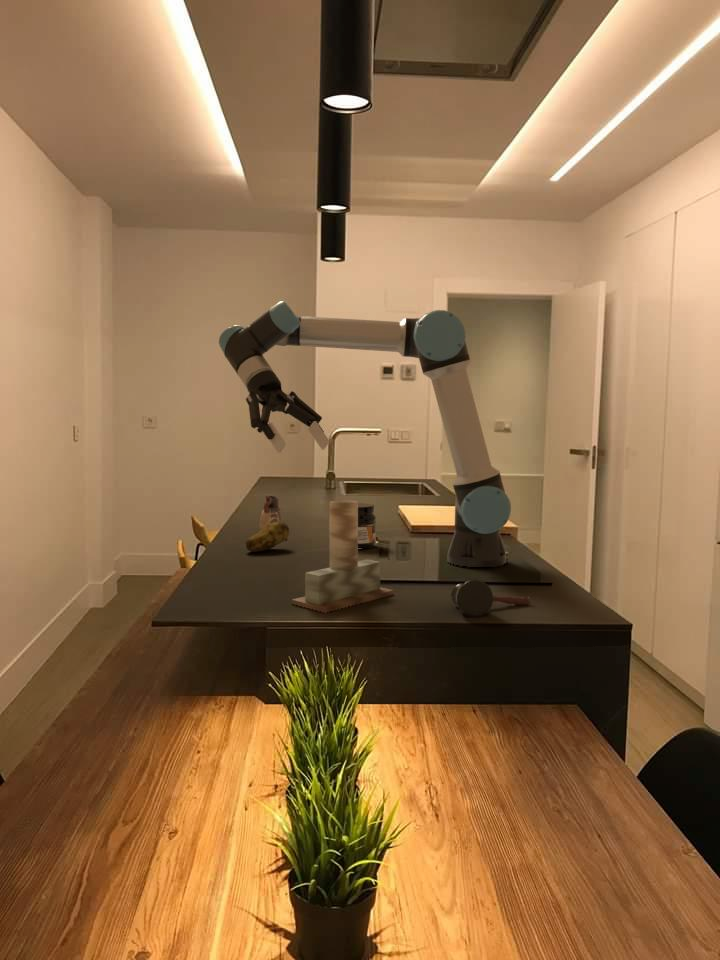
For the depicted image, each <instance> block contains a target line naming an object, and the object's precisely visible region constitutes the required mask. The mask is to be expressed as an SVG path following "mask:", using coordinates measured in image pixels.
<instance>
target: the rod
mask: <svg viewBox="0 0 720 960" xmlns="http://www.w3.org/2000/svg"><path fill="white" fill-rule="evenodd" d="M358 503H359V501H357V500H350V499H349V500H348V499H347V500H346V499H337V500H331V501H329V567H330V568H331V569H335V570H352V569H356V568H358V561H359V560H358V559H359V557H358V556H359V549H358Z"/></svg>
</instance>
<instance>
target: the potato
mask: <svg viewBox="0 0 720 960" xmlns="http://www.w3.org/2000/svg"><path fill="white" fill-rule="evenodd" d="M289 533H290V527H289V526H288V525H287V523H285V522H283V521H281V522H280V521H275V522H271V523H270V524H268V525H266V526H265V527H264V528H263V529H261V530H260V529H259V531H258V532H256V533H254V534H253V535H252V536H250V537H248V538H247V540H246V542H245V544H246V545H245V546H246V549H247V551H248V552H251V553H257V552H266V551H268V550H271V549H273V548H275V547H277V545H280V544H281V543H284V542H287V541H288V537H289Z"/></svg>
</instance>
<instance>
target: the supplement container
mask: <svg viewBox="0 0 720 960" xmlns="http://www.w3.org/2000/svg"><path fill="white" fill-rule="evenodd" d="M376 525H377V516H376V515H375V505H374V504H373V503H368V502H367V503H366V502H358V548H369V549H372V548H374V547H376V544H377V539H376V537H377V536H376V535H377V534H376V533H377V531H376V529H377V526H376ZM371 547H372V548H371Z"/></svg>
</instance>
